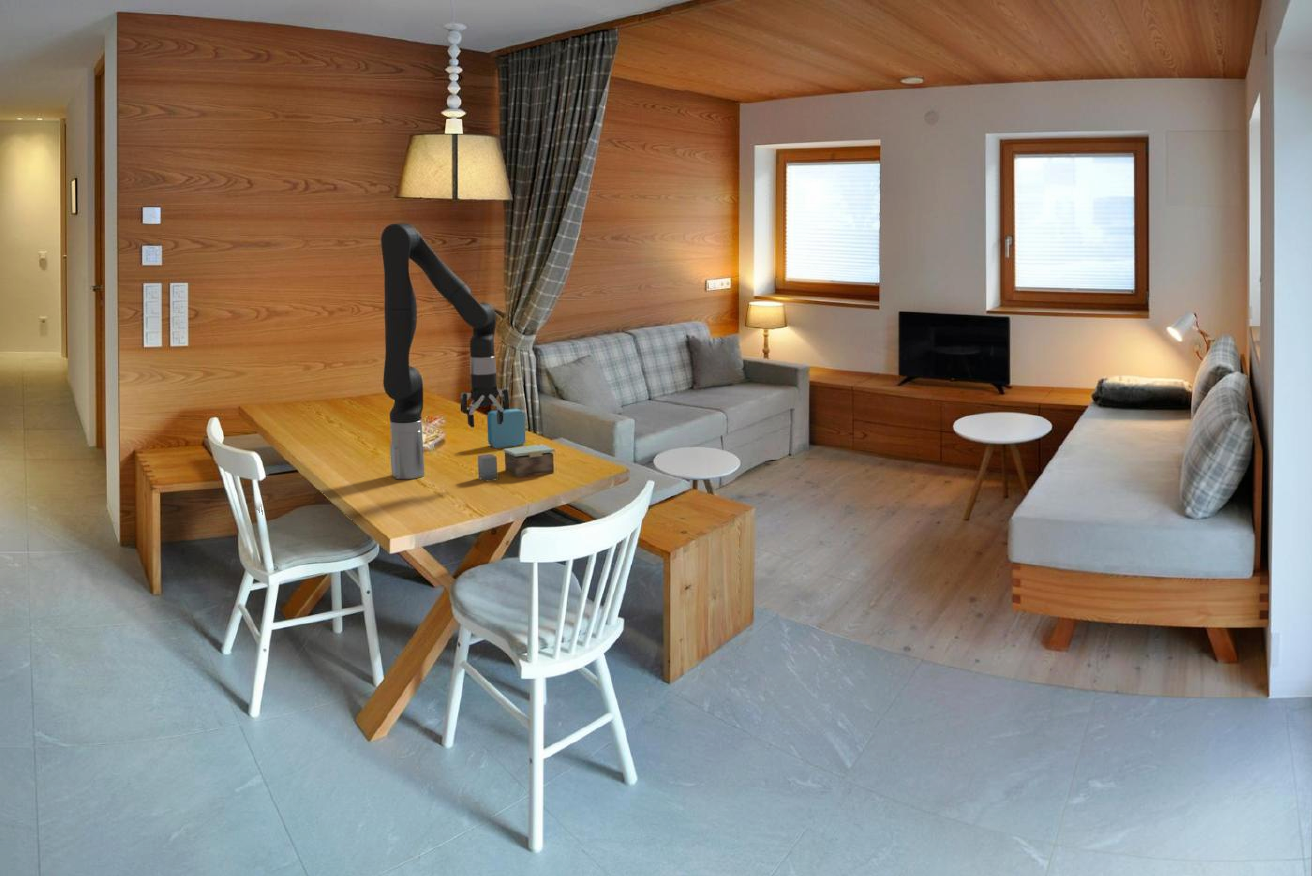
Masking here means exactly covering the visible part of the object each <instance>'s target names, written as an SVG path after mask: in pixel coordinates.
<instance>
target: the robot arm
mask: <svg viewBox="0 0 1312 876" xmlns="http://www.w3.org/2000/svg"><path fill="white" fill-rule="evenodd" d="M380 244H381V252H382V260H383V261H382V262H383V263H382V264H383V272H384V286H383V287H384V306H383V307H384V335H385V336H384V338H385V339H384V340H385V341H384V342H385V353H384V354H385V355H384V356H385V358H384V368H383V378H382V379H383V381H382V383H383V388H384V391H385V394H386V395H387V397H389V398H390V399H391V400H394V403H393V407H392V408H391V410H390V412H389V422H390V423H389V426H390V438H391V439H390V441H391V444H389V450H390V451H389V453H390V454H389V455H390V456H389V457H390V468H391V469H390V471H391V476H392V477H394V479H396V480H411V479H418V478H421V477H424V476H425V459H424V441H423V427H422V426H423V422H422V412H423V410H424V382H423V378H422V374H421V373H420V371H419V370H418V369H417V368H415V367H413V366H410V350H411V346H412V343H413V340H414V336H415V333H416V329H417V323H418V304H417V298H416V294H415V293H416V292H415V291H414V287H413V284H412V281H411V277H410V269H409V268H410V267H409V266H410V265H409V264H410V262H409V261H410V260H411V261H413V262H414V263H415V264H416V265H417V266H418V267H420V269H421V270H422V271H423V272H424V275H426V277H427V278H428V280H429V281H430V283H431V285H432V286H433V287H434V288H435V290H437V292H438V293H439V294H440V295H441V296H442V297H443V298H444V299H445V300H446V301H448V302H449V304H450V305H452V306H453V307H454V310H456V312H457V313H458V315H459V316H460V317H461V319H462V320H463V321H464V322H465V323H466V325H468V326H470V327H471V328H472V336H471V338H470V340H469V354H470V355H469V356H470V357H469V358H470V360H469V373H470V388H471V389H470V392H464V391H462V392H461V393H460V412H461V413H463V414H465V415H466V417H467V418H466V419H467V426H469V427H470V428H475V415H474V413H475V412H476V410H477V409H478V408H479V407H484V406H492V405H493V406H494V407H495V409H496V411H497V423H498V424H502V422H503V411H504V410H509V409H510V400H509V391H508V390H507V389H506V388H501V389H498V384H497V383H498V382H497V380H498V379H497V364H496V363H497V362H496V357H495V342H494V341H495V339H494V338H495V334H496V333H495V332H496V323H497V322H496V321H497V319H496V318H497V317H496V311H495V309H494V307H493V306H492V305H491V304H490V303H488V302H478V300H477V299H476V298H475V297H474V296H473V294H472V290H471V289H470V287H469V286H468V285H467V284H466V283H465V282H464V281H463V280H462V279H461V278H460V277H458V276H457V274H455V273H454V272H453V271H452V270H451V269H450V268H449V267H448V266H447V265H446V264H445V263H444V261H442V260H441V259H440V257H439V256H438V255H437V254H436V253H435V252H434V250H433V249H432V248H431V246H430V245H429V244H428V242H426V240H425V239H424V237H423V235H421V233H420V232H419V231H418V229H416V227H414V226H413V225H412V224H410V223H408V222H407V223H405V222H399V223H398V222H397V223H396V222H395V223H390V224H389V225H387V226H386V227H384V228H383V230H382V233H381V238H380ZM498 396H500V397H501V401H502V405H501V404H500V403H499V401H498V400H497V397H498ZM470 398H471V399H472V401H471V403H470V404H469V407H468V401H469V399H470Z"/></svg>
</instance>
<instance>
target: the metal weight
mask: <svg viewBox="0 0 1312 876" xmlns="http://www.w3.org/2000/svg"><path fill="white" fill-rule="evenodd" d="M497 460H498V458H497V456H496V455H495V454H493V453H489V454H480V455H477V469H478V470H477V471H478V479H479V478H481V479H482V480H483V481H484V482H487V481H486V480H491V481H495V480H494V479H498V461H497ZM481 479H480V480H481ZM482 480H481V481H482ZM483 481H482V482H483Z"/></svg>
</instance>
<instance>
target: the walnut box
mask: <svg viewBox="0 0 1312 876" xmlns="http://www.w3.org/2000/svg"><path fill="white" fill-rule="evenodd" d="M504 463H505V464H504V465H505V467H504V469H505V470H504V471H506V472H508V473H509V474H510V475H512V476H513V477H515V478H516V479H517V478H525V477H526V478H527V477H531V476H540V475H547V474H548V473H549V474H554V473H553V472H554V471H555V470H554V452H549V453H542V456H537V457H529V455H524V456H516V457H515V456H513V455H510V454H508V453H506V452H504Z"/></svg>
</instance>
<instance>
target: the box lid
mask: <svg viewBox="0 0 1312 876" xmlns="http://www.w3.org/2000/svg"><path fill="white" fill-rule="evenodd" d="M502 450H503V452H504V453H505V452H506V453H508V454H510V455H513V456H515V457H516V456H524V455H529V457H537V456H542V453H549V452H551V453H556V450H555V448H553V447H550V446H548V445H545V444H542V443H541V444H534V445H526V446H524V445H523V446H518V447H517V446H515V447H506V448H503V449H502Z"/></svg>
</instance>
